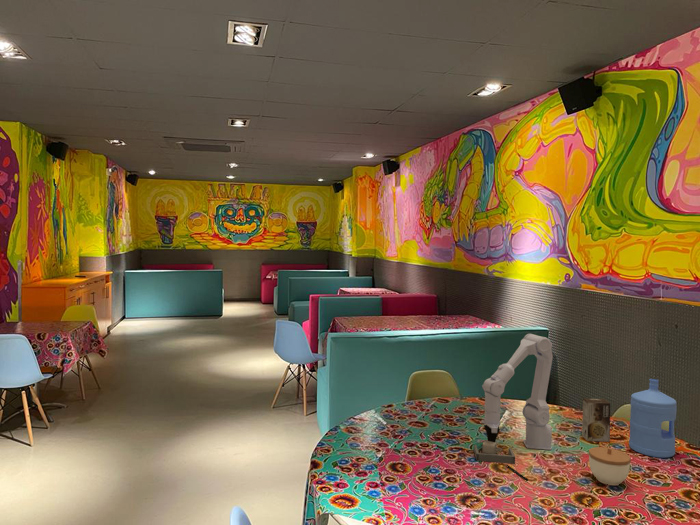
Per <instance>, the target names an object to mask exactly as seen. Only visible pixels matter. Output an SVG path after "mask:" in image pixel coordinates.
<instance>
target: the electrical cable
mask: <svg viewBox="0 0 700 525" xmlns="http://www.w3.org/2000/svg"><path fill="white" fill-rule="evenodd" d="M507 466H508V467H507ZM505 467H506V468H507V469H508V468H509V471H512V472H513V473H514V474H515V473H516V474H515V475H516V476H518V477H520V479H521V478H522V479H523V480H524V481H525V480H526V481H525V482H529V479H528V477H526V476H524V475H522V474H521V473H520V472H518V470H516V469H514V468H512V467H511V466H510V465H509V464H505Z"/></svg>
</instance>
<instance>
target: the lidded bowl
mask: <svg viewBox="0 0 700 525" xmlns="http://www.w3.org/2000/svg"><path fill="white" fill-rule="evenodd" d="M631 461H632V460H631V457H630V455H629V454H627V453H626V452H624V451H621V450H620V449H619V450H618V449H615V448H611V447H603V446H596V447H591V448H590V449H589V450H588V463H589V469H590V471H591V473H592V474H593V476H594V477H596V480H597V481H598V482H599V481H600V482H599V483H602V484H604V485H607V484H608V485H609V486H619V484H620V485H621V483H622V482H624V481H625V480H626V479H627V478H628V476H629V473H630V469H631ZM608 485H607V486H608Z"/></svg>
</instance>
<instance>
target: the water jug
mask: <svg viewBox="0 0 700 525" xmlns="http://www.w3.org/2000/svg"><path fill="white" fill-rule="evenodd" d="M659 381H660V380H659V379H655V378H649V384H648V385H649V386H648V387H649V388H648V389H645V390H641V391H638V392H634V393H632V394H631V395H630V417H629V418H630V419H629V439H628V445H629V447H630V448H631V450H633V451H635V452H636V453H639V454H641V455H645V456H649V457H653V458H659V459H660V458H661V459H662V458H664V459H666V458H671V457H673V456H675V454H676V435H675V421H676V419H677V411H678V408H677V406H678V405H677V401H676V399H674V398H673V397H671V396H669V395H668V394H665V393H663V392H661V391H660V390H659V386H660V385H659ZM664 422H668V430H666V429H662V424H663V423H664Z"/></svg>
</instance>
